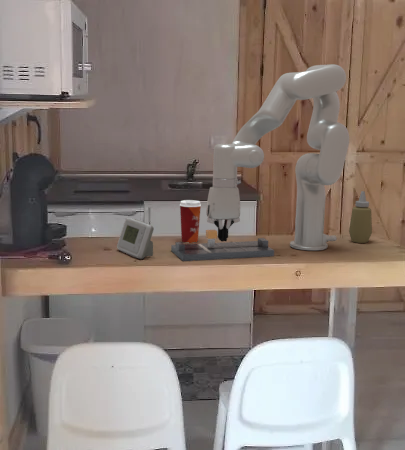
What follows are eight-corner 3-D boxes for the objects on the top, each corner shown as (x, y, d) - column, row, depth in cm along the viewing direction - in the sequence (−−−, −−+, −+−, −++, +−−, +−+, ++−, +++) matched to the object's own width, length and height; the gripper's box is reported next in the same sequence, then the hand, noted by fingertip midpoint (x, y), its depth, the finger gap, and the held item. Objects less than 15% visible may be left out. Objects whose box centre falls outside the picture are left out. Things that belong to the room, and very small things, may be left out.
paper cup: (198, 244, 225) (199, 203, 222) (176, 242, 226) (176, 202, 223) (202, 239, 232) (203, 200, 229) (181, 238, 234) (182, 199, 231)
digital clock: (115, 249, 214) (115, 217, 212) (142, 248, 218) (142, 216, 216) (129, 261, 200) (129, 226, 198) (157, 259, 203) (158, 225, 201)
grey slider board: (257, 246, 223) (257, 235, 222) (273, 256, 210) (274, 243, 209) (171, 250, 214) (171, 238, 213) (182, 261, 201) (183, 248, 200)
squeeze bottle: (373, 244, 230) (377, 193, 227) (350, 243, 230) (353, 192, 227) (368, 239, 238) (371, 190, 235) (346, 239, 238) (349, 189, 235)
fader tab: (214, 245, 212) (214, 229, 211) (216, 247, 210) (217, 231, 209) (205, 246, 211) (205, 229, 210) (207, 247, 209) (208, 231, 208)
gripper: (242, 181, 213) (240, 237, 217) (198, 182, 209) (197, 239, 212) (251, 184, 206) (248, 242, 210) (205, 185, 202) (204, 244, 205)
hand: (222, 240), depth 211 cm, fingers closed
